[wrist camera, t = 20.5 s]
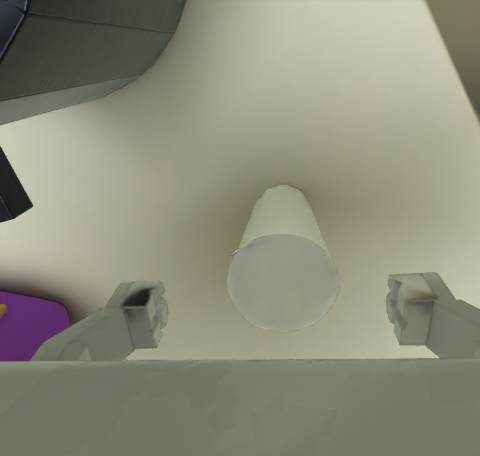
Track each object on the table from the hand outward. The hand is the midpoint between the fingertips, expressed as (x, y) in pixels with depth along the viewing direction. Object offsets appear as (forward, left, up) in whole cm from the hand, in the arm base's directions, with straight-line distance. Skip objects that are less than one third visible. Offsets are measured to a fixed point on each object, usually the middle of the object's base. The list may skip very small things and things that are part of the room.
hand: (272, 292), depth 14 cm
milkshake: (0, 0, -10) cm, 10 cm away
